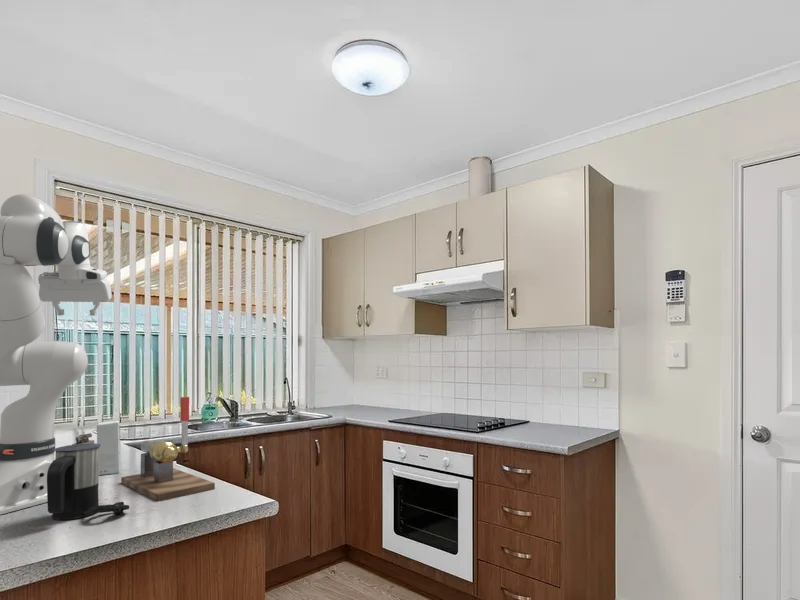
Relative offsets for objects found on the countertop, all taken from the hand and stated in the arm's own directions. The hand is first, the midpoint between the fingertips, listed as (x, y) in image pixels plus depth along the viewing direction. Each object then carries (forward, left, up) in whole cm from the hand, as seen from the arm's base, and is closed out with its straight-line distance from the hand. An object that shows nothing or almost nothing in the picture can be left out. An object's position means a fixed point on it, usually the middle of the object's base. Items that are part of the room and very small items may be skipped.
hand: (77, 315), depth 172 cm
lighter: (+2, -2, -48) cm, 48 cm away
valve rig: (-17, -46, -48) cm, 69 cm away
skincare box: (-4, -17, -48) cm, 51 cm away
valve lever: (-13, -49, -40) cm, 64 cm away
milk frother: (-41, -46, -48) cm, 78 cm away
